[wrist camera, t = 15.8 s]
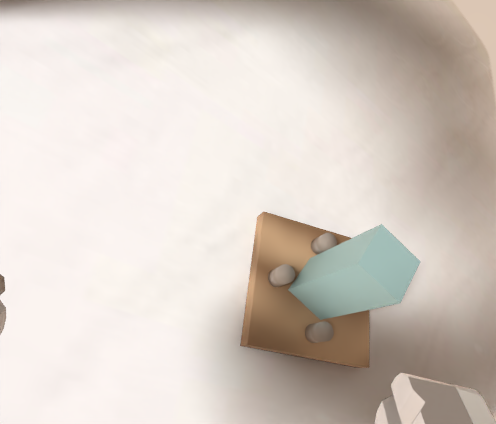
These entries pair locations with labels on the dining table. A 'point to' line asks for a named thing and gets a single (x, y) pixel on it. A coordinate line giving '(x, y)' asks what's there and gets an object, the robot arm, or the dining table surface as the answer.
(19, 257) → the dining table surface
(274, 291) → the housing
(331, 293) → the block
